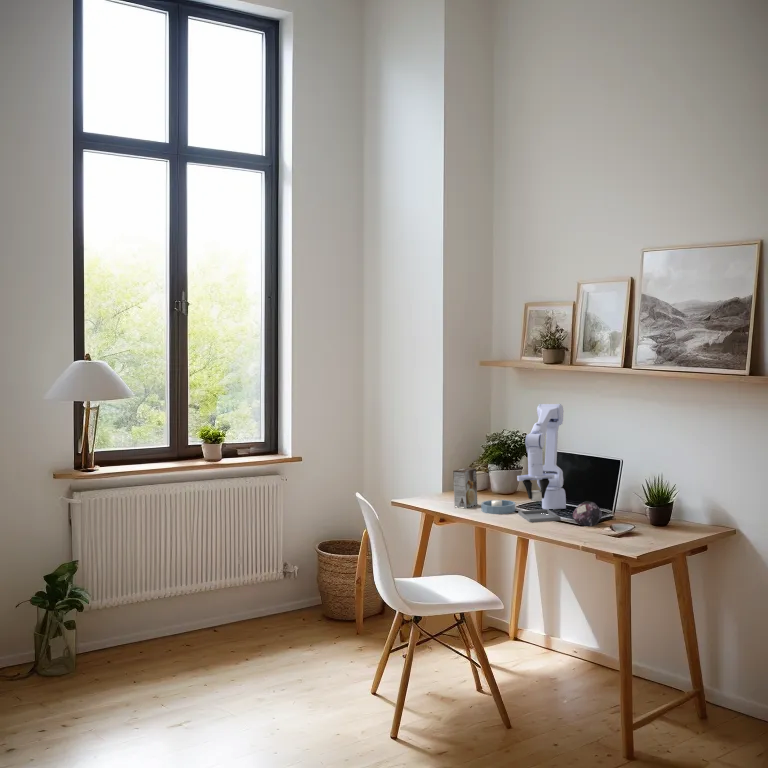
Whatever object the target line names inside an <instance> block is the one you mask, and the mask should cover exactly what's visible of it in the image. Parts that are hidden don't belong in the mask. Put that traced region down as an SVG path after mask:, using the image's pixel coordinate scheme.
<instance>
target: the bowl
mask: <svg viewBox="0 0 768 768" xmlns="http://www.w3.org/2000/svg"><path fill="white" fill-rule="evenodd" d="M493 500H494V499H491V500H485V501H482V502H481V504H480V506H481V512H482V513H484V514H488V515H489V514H491V515H503V514H505V515H507V514H512V513H515V512H516V511H517V509H516V508H517V507H516V505H517V503H516V502H515V501H514V500H507V499H500V500H501V501H502V506H492V504H491V501H493Z"/></svg>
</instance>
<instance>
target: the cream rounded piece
mask: <svg viewBox="0 0 768 768" xmlns="http://www.w3.org/2000/svg"><path fill="white" fill-rule="evenodd" d="M530 501H531V502H542V491H541V490H532V499H530Z"/></svg>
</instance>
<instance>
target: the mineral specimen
mask: <svg viewBox="0 0 768 768" xmlns="http://www.w3.org/2000/svg"><path fill="white" fill-rule="evenodd" d="M602 516H603V512H602V510H601V509H600V507H599V506H598V505H597V504H596V503H595V502H593V501H587V500H585V501H584V502H582V503H580V504H578V505H577V506H576V508H575V509H574V511H573V513H572V518H573V520H574V521H575V522H576V523H577V524H578V525H579V526H584V527H594V526H596V525H597V524H598V523H599V522H600V521H601V519H602Z"/></svg>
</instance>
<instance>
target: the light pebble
mask: <svg viewBox="0 0 768 768" xmlns="http://www.w3.org/2000/svg"><path fill="white" fill-rule="evenodd" d="M492 500H493V501H491V504H492V506H502V501H501V500H502V499H492Z"/></svg>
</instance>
